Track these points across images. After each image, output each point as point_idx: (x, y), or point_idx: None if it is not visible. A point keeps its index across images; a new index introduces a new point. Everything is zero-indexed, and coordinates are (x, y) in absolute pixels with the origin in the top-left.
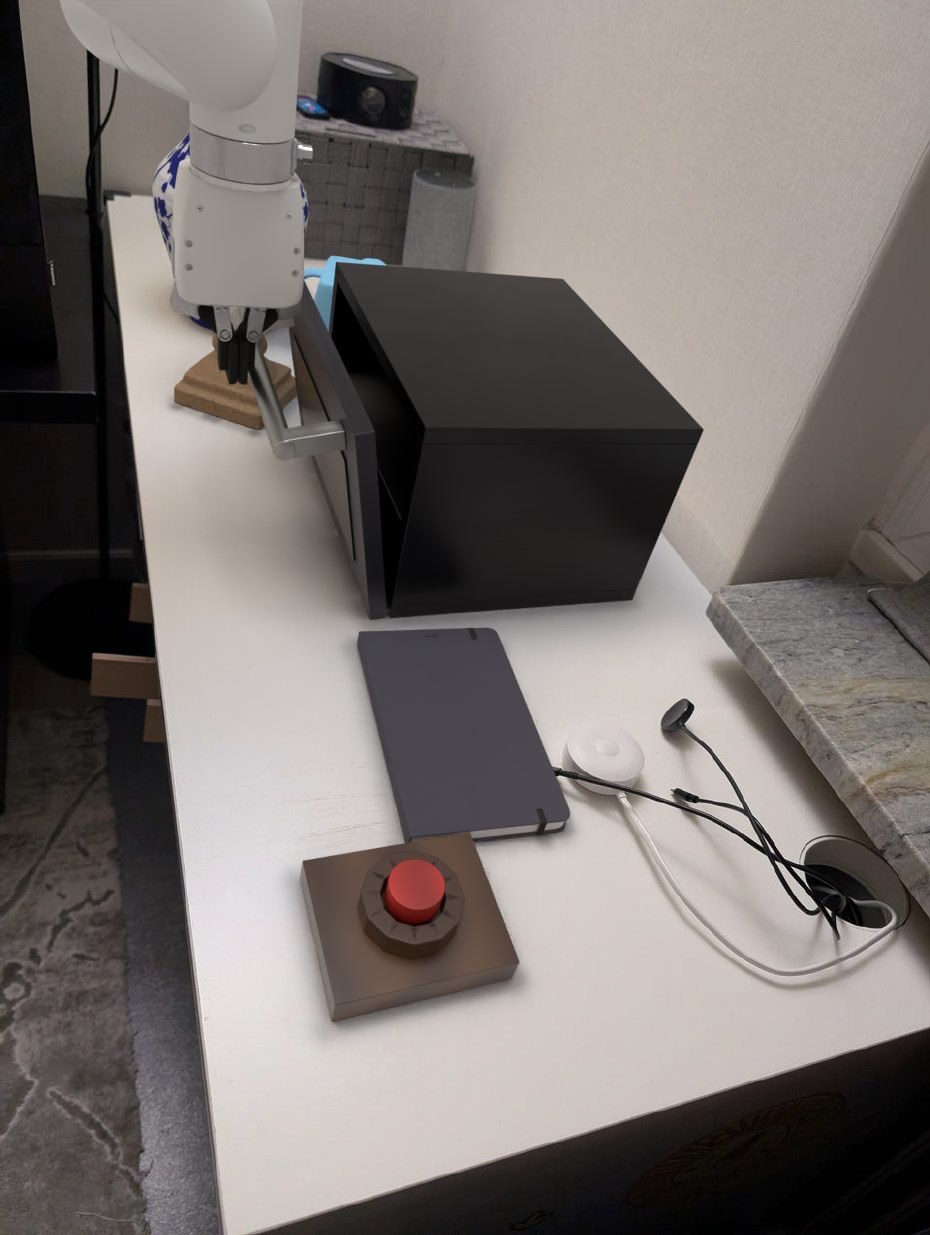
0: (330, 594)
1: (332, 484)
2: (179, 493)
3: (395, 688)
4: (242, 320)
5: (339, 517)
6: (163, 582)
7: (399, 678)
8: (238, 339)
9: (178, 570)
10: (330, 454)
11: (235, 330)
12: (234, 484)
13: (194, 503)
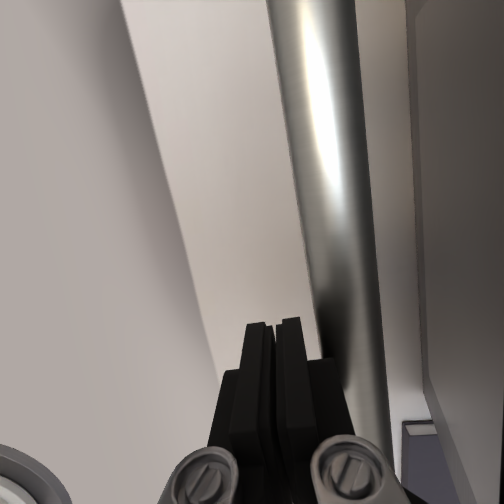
0: (386, 359)
1: (439, 306)
2: (208, 190)
3: (428, 493)
4: (315, 495)
5: (429, 316)
6: (215, 350)
7: (435, 485)
8: (293, 501)
9: (226, 332)
10: (463, 359)
11: (278, 431)
12: (279, 155)
13: (229, 210)
